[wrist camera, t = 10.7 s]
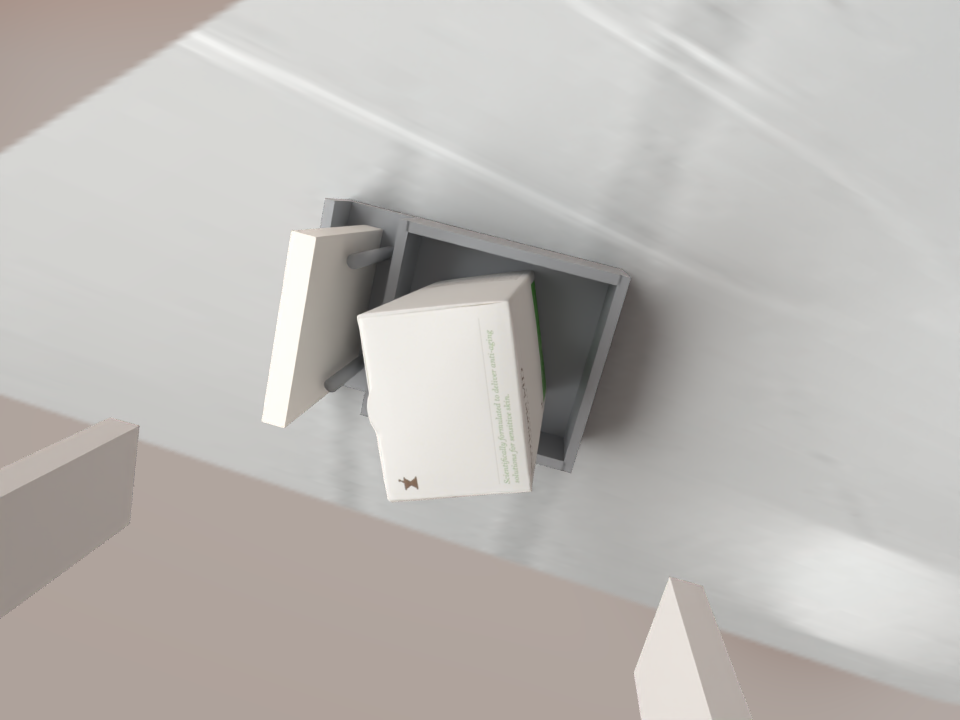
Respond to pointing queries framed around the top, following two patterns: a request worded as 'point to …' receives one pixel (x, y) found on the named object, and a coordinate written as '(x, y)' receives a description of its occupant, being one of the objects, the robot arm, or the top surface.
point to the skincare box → (457, 387)
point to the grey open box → (416, 264)
